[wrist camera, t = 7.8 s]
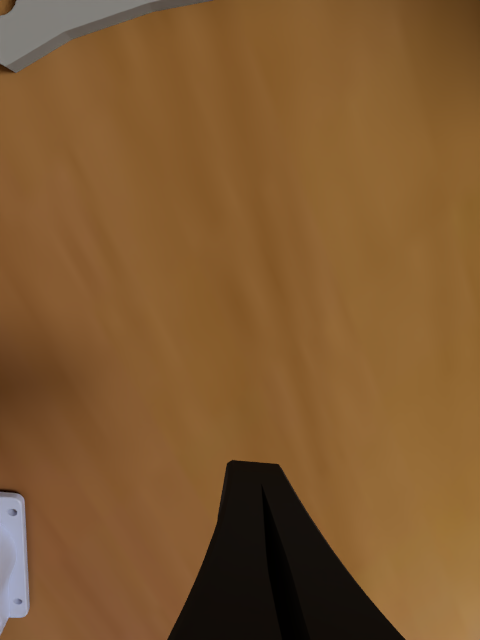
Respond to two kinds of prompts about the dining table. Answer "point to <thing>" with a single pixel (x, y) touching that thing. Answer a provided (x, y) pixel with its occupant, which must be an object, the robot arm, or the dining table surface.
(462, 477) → the dining table surface
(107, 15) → the kitchen cleaver
